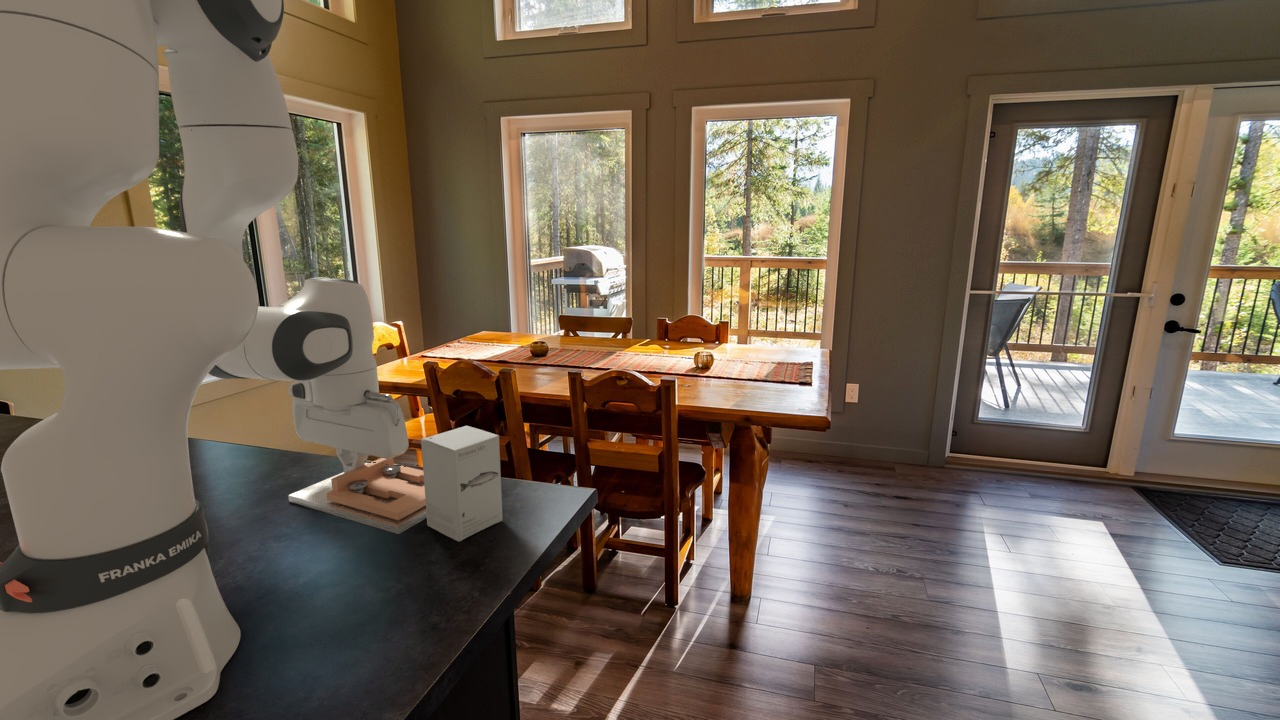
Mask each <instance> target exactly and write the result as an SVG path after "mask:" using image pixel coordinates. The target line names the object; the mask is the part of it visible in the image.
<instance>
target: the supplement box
mask: <svg viewBox="0 0 1280 720" xmlns="http://www.w3.org/2000/svg"><path fill="white" fill-rule="evenodd" d="M420 443H421V444H420V445H421V457H422V458H421V459H422V470H423V473H424V487H425V500H426V513H427V518H426V525H427V526H428V527H429V528H431V529H433V530H435V531H437V532H439V533H440V534H443V536H446V537H448V538H450V539H452V540H454V541H456V542H459V543H460V542H462V541H463V540H465V539H466V538H468V537H471V536H473V535H475V534H476V533H478V532H481V531H483V530H485V529H486V528H489V527H491V526H493V525H495V524H498V523H500V522H503V519H504V518H503V517H504V516H503V499H502V498H503V497H502V495H503V494H502V493H503V492H502V477H501V474H502V473H501V456H500V455H501V453H500V435H499V434H495V433H492V432H489V431H486V430H484V429H480V428H476V427H472V426H469V425H464V426H461V427H457V428H454V429H451V430H447V431H444V432H441V433H438V434H433V435H431V436H428V437H423V438H421V439H420Z"/></svg>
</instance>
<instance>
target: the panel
mask: <svg viewBox="0 0 1280 720" xmlns="http://www.w3.org/2000/svg"><path fill="white" fill-rule="evenodd" d="M370 462H371V463H368V464H366V465H363V466H361V467H359V468H356V469H354V470H351V471H349V472H347V473H344V474H342V475H339V476H337V477H335V478H332V479H331V483H332V491H330V492H328V493H326V496H327V500H329V501H333V502H336V503H340V504H343V505H347V506H350V507H354V508H357V509H361V510H364V511H368V512H371V513H375V514H378V515H382V516H385V517H389V518H392V519H396V520H400V519H402V518H404V517H405V516H407V515H409V514H411V513H413V512H414V511H416V510H418V509H420V508H422V507H423V506H425V505H426V500H425V487H424V486H422V487H419V486H415V485H411V484H408V481H404V480H400V479H396V478H392V477H388V476H387V475H383V472H382V469H383V468H384V467H386V466H390V465H398V464H396V463H395V461H394V458H391V459H385V458H380V457H379V458H378V459H375V460H373V461H370ZM373 462H376V463H373ZM382 463H383V464H382ZM386 464H388V465H386ZM404 466H405V465H401V466H400V467H401V472H400V473H398V474H397V477H398V478H402V479H406V480H411V481H415V482H421V481H424V473H423V469H418V468H415V467H410V466H406V467H404ZM361 479H363V480H367V481H368V487H367V488H365V489H364V492H365V493H369V494H372V495H376V496H380V497H383V498H389V497H393V498H397V500H395V501H393V502H391V503H389V504H386V503H382V502H379V501H375V498H374V497H370V496H367V495H363V494H359V493H356V492H353V491H350V490H349V489H348V484H349V483H350V482H352V481H355V480H361Z"/></svg>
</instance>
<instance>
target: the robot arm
mask: <svg viewBox="0 0 1280 720" xmlns="http://www.w3.org/2000/svg"><path fill="white" fill-rule="evenodd" d="M284 2H285V1H284V0H0V370H1V371H2V370H24V369H25V370H29V369H31V370H32V369H61V371H62V374H63V380H64V391H63V392H64V394H63V399H62V402H61V406H60V408H59V410H58V412H56V413H54V414H52V415H50V416H47V417H46V418H44V419H43V420H41V421H39V422H38V423H35V424H33V425H32V426H30V427H29V428H28V429H26V430H25V431H23V432H22V433H21V434H20V435H19V436H18V437H17V438H16V439H15V440H14V441H13V442H12V443H11V444H10V445H9V447H8V448H7V450H6V451H5V453H4V455H3V457H2V461H1V466H0V472H1V473H2V474H1V475H2V479H3V483H4V488H5V492H6V496H7V499H8V503H9V507H10V511H11V514H12V515H11V516H12V520H13V523H14V527H15V532H16V536H17V539H18V543H19V544H18V545H17V546H16V548H15V549H14V551H13V552H12V553H11V554H10V555H9V556H8V557H7V559H6V560H4V561H3V562H0V720H175V719H177V718H179V717H181V716H182V715H185V714H186V713H188V712H189V711H192V710H194V709H195V708H197V707H199V706H201V705H202V704H204V703H206V702H208V701H209V700H211V698H213V696H215V695H216V693H217V691H218V689H219V685H220V679H221V672H222V670H223V669H224V667H225V666H226V665H227V663H228V662H229V660H230V659H231V658H232V656H233V655H234V654H235V652H236V650H237V648H238V646H239V643H240V641H241V636H242V635H241V633H242V632H241V629H240V627H239V624H238V623H237V622H236V620H235V619H234V617H233V616H232V614H231V613H230V611H229V609H228V608H227V606H226V603H225V601H224V600H223V597H222V594H221V593H220V590H219V588H218V585H217V582H216V579H215V577H214V574H213V571H212V568H211V567H212V566H211V563H210V561H209V557H208V556H209V555H210V553H211V552H210V551H211V546H210V545H211V544H210V540H209V529H208V524H207V521H206V519H205V518H206V517H205V514H204V508H203V505H202V503H201V502H200V501H199V500H197V499H195V493H194V484H193V479H192V478H193V477H192V470H191V462H190V451H189V441H188V440H189V439H188V427H189V426H188V424H189V418H190V412H191V409H192V406H193V402H194V400H195V397H196V395H197V393H198V391H199V388H200V387H201V385H202V382H203V381H204V380H205V378H206V377H207V375H210V376H213V377H215V378H218V379H223V380H224V379H225V380H237V379H239V380H240V379H241V380H243V379H245V380H246V379H256V380H267V381H282V382H291V383H290V384H289V385H288V393H289V396H290V397H291V398H292V399H293V400H292V405H291V409H292V417H293V424H294V430H295V432H296V434H297V436H298V437H299V438H300V441H303V442H304V441H305V442H308V443H314V444H317V445H322V446H326V447H327V446H328V447H331V448H335V454H336V456H337V457H338V459H339V461H340V463H341V464H342V467H343V472H344V473H347V472H349V471H351V470H354V469H356V468H359V467H361V466H363V465H365V463H367V461H368V457H369V456H372V457H375V458H379V459H380V458H385V459H391V458H393V459H394V458H397V457H399V456H401V455H403V454H405V453H406V451H407V450H408V449H409V446H410V445H409V443H410V442H409V436H408V430H407V425H406V421H405V416H404V413H403V411H402V409H401V405H400V403H399V402H397V400H396V399H395V398H394V397H393V396H392V395H391V394H388V393H380V390H379V389H380V388H379V386H380V385H379V376H378V366H377V360H376V358H375V356H374V353H373V343H374V339H375V332H374V323H373V316H372V311H371V304H370V300H369V298H368V295H367V292H366V290H365V288H364V286H363V285H362V284H361V283H359V282H358V281H354V280H353V279H352V280H351V279H347V278H346V279H345V278H339V277H338V278H332V277H326V276H325V277H324V276H323V277H319V276H317V277H316V276H315V277H310V278H307V279H305V280H304V282H303V287H302V288H301V289H300V290H299V291H298V292H297V293H296V294H295V295H294V296H292V297H291V298H290V299H288V300H286V301H284V302H283V303H280V304H278V306H260V305H259V292H258V289H257V288H258V287H257V284H256V281H255V278H254V276H253V274H252V271H251V269H250V268H249V266H248V265H247V263H246V262H245V261H244V251H243V239H244V238H243V237H244V235H245V231H246V230H247V228H248V226H249V225H250V224H251V222H252V221H254V220H255V219H256V218H257V217H258V216H260V215H261V214H263V213H264V212H267V211H268V210H270V209H272V208H274V207H276V206H277V205H279V203H281V202H283V200H284V199H286V197H287V196H288V195H290V193H291V191H292V190H293V189H294V187H295V185H296V183H297V182H298V176H299V155H298V154H299V153H298V150H297V144H296V139H295V135H294V131H293V125H292V122H291V118H290V113H289V110H288V106H287V103H286V98H285V95H284V92H283V88H282V86H281V85H282V84H281V82H280V80H279V77H278V75H277V72H276V69H275V67H274V64H273V61H272V60H271V57H270V54H269V53H270V51H271V49H272V44H273V42H275V40H276V39H277V37H278V35H279V32H280V29H281V27H282V24H283V19H284V13H285V3H284ZM158 47H166V49H165V50H162V51H161V52H162V54H163V56H164V57H165V59H166V61H167V69H168V70H167V71H168V80H169V86H170V87H169V89H170V96H171V101H172V106H173V111H174V116H175V120H176V123H177V124H176V125H177V128H178V133H179V138H180V141H181V142H180V143H181V147H182V154H183V166H184V179H183V186H182V188H181V191H180V195H179V200H178V201H179V203H178V204H179V207H178V208H179V209H178V210H179V212H178V213H179V224H180V231H178V230H174V229H166V228H160V227H153V226H107V225H106V226H95V225H94V226H93V225H92V226H91V224H92V223H93V221H94V219H95V218H96V216H97V215H98V213H99V212H100V211H101V210H102V209H103V207H105V205H107V203H108V202H110V201H111V200H112V199H113V198H115V197H116V196H119V195H120V194H121V193H123V192H125V191H127V190H131V188H133V187H136V186H138V185H139V184H141V183H142V182H144V181H145V180H146V179H148V178H149V176H150V175H151V174H152V173H153V172H154V170H155V168H156V167H157V164H158V161H159V157H160V92H159V91H160V90H159V88H160V87H159V86H160V85H159V84H160V75H159V74H160V72H159V71H160V70H159V67H160V66H159V54H158V53H159V51H158ZM364 461H366V462H364Z"/></svg>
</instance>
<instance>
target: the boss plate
mask: <svg viewBox="0 0 1280 720" xmlns="http://www.w3.org/2000/svg"><path fill="white" fill-rule="evenodd" d="M366 464H368V463H367V462H366V463H365V465H366ZM382 472H383V475H387V476H388V477H392V478H396V479H400V480H404V481H408V484H411V485H415V486H419V487H422V486H424V481H421V482H415V481H411V480H406V479H402V478H398V477H397V474H398V473H400V472H401V467H400V466H394V465H390V466H386V467H384V468H383V469H382ZM342 474H344V471H342V472H341V473H338V474H335V475H333V476H331V477H329V478H326V479H324V480H321V481H319V482H317V483H314V484H311V485H309V486H307V487H304V488H302V489H299V490H298V491H294V492H292V493H290V494H288V495H287V497H288V501H289V503H292V504H296V505H299V506H304V507H305V508H309V509H314V510H317V511H320V512H323V513H326V514H329V515H334V516H337V517H340V518H343V519H346V520H350V521H353V522H355V523H360V524H363V525H366V526H369V527H373V528H377V529H380V530H382V531H387V532H390V533H393V534H396V535H400V534H402V533H403V532H405V531H406V530H408V529H410V528H412V527H414V526H416V525H418V523H420V522H422V521H424V520H425V519H426V520H427V513H426V505H425V506H423V507H422V508H420V509H418V510H416V511H414V512H413V513H411V514H409V515H407V516H405V517H404V518H402V519H400V520H396V519H392V518H389V517H385V516H382V515H378V514H375V513H371V512H368V511H364V510H361V509H357V508H354V507H350V506H347V505H343V504H340V503H336V502H333V501H329V500H327V496H326V493H328V492H330V491H332V483H331V479H332V478H335V477H337V476H339V475H342ZM367 487H368V481H367V480H363V479H361V480H355V481H352V482H350V483H349V484H348V489H349V490H350V491H353V492H356V493H359V494H363V495H367V496H370V497H374V498H375V501H379V502H382V503H386V504H389V503H391V502H393V501H395V500H397V498H393V497H389V498H383V497H380V496H376V495H372V494H369V493H365V492H364V489H365V488H367Z"/></svg>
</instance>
